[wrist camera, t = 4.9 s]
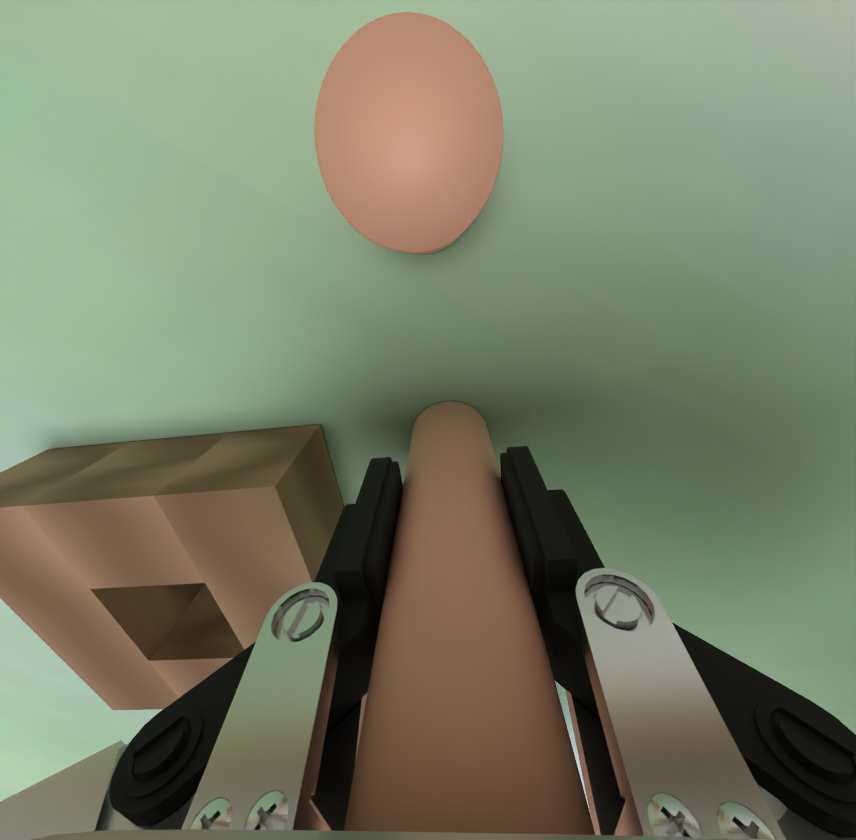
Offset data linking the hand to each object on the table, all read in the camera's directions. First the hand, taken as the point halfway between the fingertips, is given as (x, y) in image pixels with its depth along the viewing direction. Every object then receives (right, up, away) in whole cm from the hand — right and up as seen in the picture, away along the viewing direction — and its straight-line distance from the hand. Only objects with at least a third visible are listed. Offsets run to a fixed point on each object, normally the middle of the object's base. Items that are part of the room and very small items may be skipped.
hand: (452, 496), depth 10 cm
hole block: (-10, -4, +6) cm, 13 cm away
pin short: (-1, +9, 0) cm, 9 cm away
